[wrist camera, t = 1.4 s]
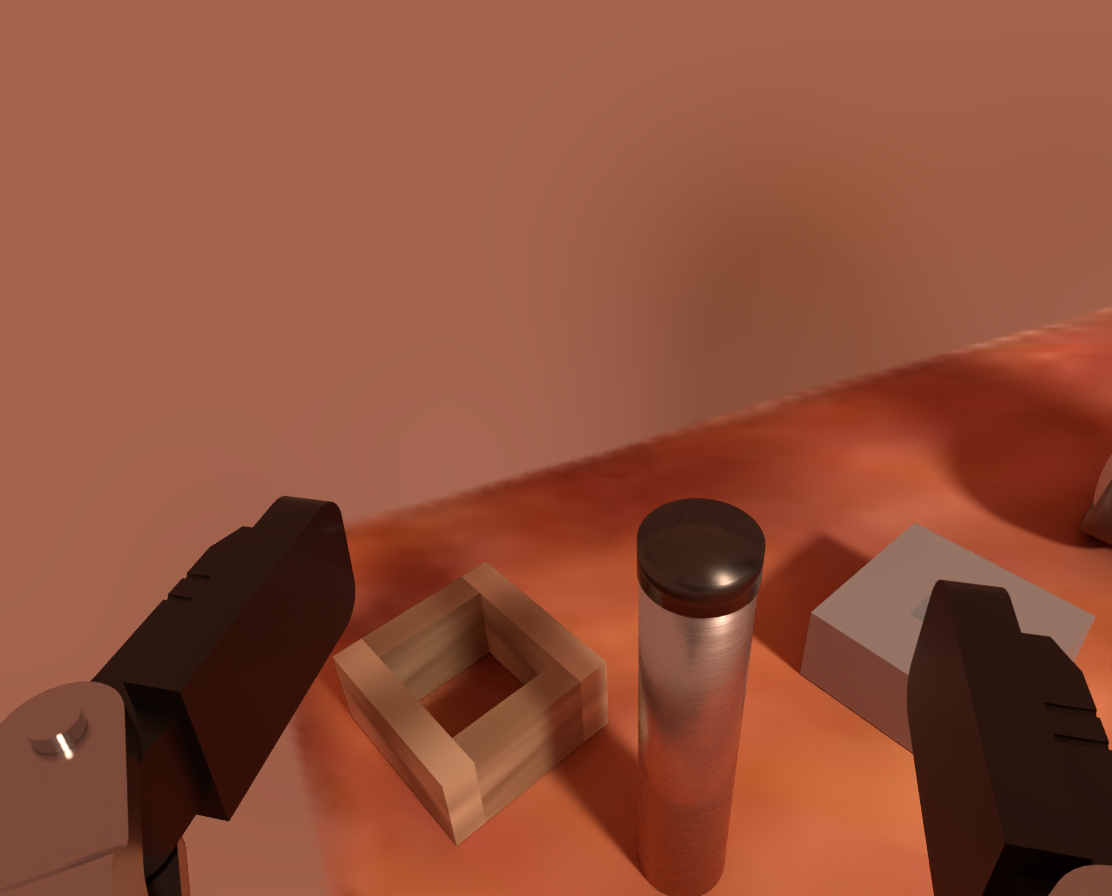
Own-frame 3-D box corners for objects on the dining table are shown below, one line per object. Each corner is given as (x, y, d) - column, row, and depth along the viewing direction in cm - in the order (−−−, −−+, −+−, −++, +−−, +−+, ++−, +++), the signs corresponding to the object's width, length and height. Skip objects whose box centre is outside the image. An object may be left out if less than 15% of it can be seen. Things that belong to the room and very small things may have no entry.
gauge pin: (744, 857, 32) (791, 539, 22) (683, 920, 30) (707, 606, 20) (678, 797, 34) (695, 482, 24) (618, 852, 32) (611, 538, 22)
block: (1065, 679, 37) (1095, 616, 35) (971, 795, 33) (998, 733, 31) (898, 583, 42) (914, 522, 40) (799, 673, 38) (811, 612, 36)
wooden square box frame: (608, 722, 37) (606, 662, 34) (456, 846, 33) (442, 787, 30) (494, 620, 42) (486, 561, 39) (351, 716, 38) (331, 656, 35)
